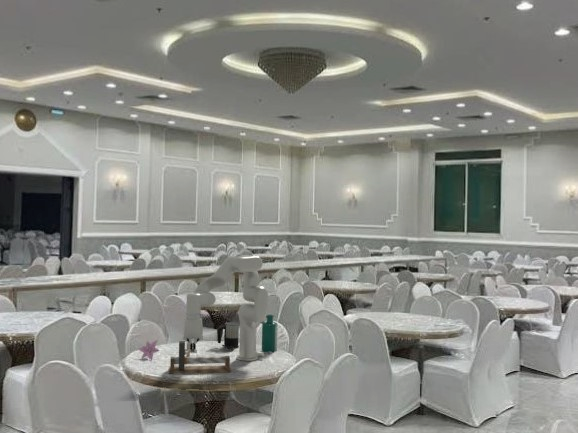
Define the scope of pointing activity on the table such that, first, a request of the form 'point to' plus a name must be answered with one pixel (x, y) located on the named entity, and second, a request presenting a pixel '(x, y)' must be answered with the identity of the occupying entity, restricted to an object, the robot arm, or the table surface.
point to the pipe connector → (188, 351)
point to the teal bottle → (269, 335)
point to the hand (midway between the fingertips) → (192, 350)
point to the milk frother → (229, 335)
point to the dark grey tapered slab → (181, 355)
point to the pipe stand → (201, 369)
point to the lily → (149, 349)
